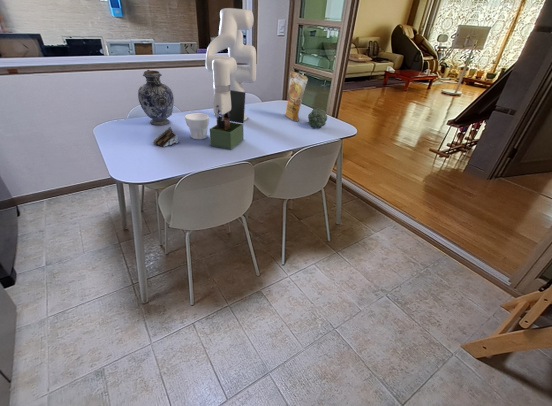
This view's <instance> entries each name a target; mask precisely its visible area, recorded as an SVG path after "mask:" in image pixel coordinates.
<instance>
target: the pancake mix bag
mask: <svg viewBox="0 0 552 406" xmlns="http://www.w3.org/2000/svg"><path fill="white" fill-rule="evenodd" d="M308 81H309V78H308V76H307V75H304V74H301V73H299V72H296V71H293V70H291V71H289V80H288V91H287V102H286V110H285V111H286V113H285V116H286V118H288V119H289V120H291V121H293V122H299V114H300V110H301V105H302V101H303V98H304V96H305V91H306V87H307V85H308Z"/></svg>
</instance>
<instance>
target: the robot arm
mask: <svg viewBox="0 0 552 406" xmlns="http://www.w3.org/2000/svg"><path fill="white" fill-rule="evenodd" d="M219 18H220V21H219V28H218V29H219V30H218V36H216V37H214V39H212V41H210V43H209V44H208V46H207V49H206V54H205V68H206V70H207V71H208V72H209V73H210V74H212V75H213V76H212V78H213V81H212V82H213V98H212V99H213V101H212V107H213V108H212V109H213V110H212V111H213V114H214V117H215V118H216V121H217V120H218V128H222V129H224V120H223V117H224V116H225V118H230V111H231V95H230V90H233V91H239V92H245V88H244V86H243V85H242V84H254V83H256V81H257V50H256V47H255V46H254V45H251V44H244V34H243V32H242V31H250V30H251V29H252V28H253V26H254V22H255V21H254V20H255V18H254V14H253V11H252V10H251V9H245V8H235V7H233V8H232V7H227V8H226V7H225V8H222V9H221V10H220V12H219ZM226 49H227V50H228V51H227V54H228V56H227V55H217V54H218V53H219V52H221V51H224V50H226ZM243 64H244V65H243ZM245 64H246V65H245ZM245 93H246V92H245ZM245 113H246V108H245V109H244V121H246V120H247V119H248V115H246V114H245Z"/></svg>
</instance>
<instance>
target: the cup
mask: <svg viewBox="0 0 552 406" xmlns="http://www.w3.org/2000/svg"><path fill="white" fill-rule="evenodd" d="M184 120H185V124H186V126H187V127H188V130H189V132H190V137H191V139H193V140H204V139H207V137H208V128H209V124H210V114H209V115H208V114H207V113H202V112H194V113H193V112H192V113H188V114H186V115H185V116H184Z"/></svg>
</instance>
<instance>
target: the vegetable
mask: <svg viewBox="0 0 552 406" xmlns="http://www.w3.org/2000/svg"><path fill="white" fill-rule="evenodd" d="M307 118H308V125H309V126H310V127H311V128H313V129H316V128H319V129H321V127H324V126H326V124H327V120H328V116H327V111H326V110H324V109H322V108H319V107H314V108H313V109H312V110H311V112H309V114H308V117H307Z"/></svg>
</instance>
